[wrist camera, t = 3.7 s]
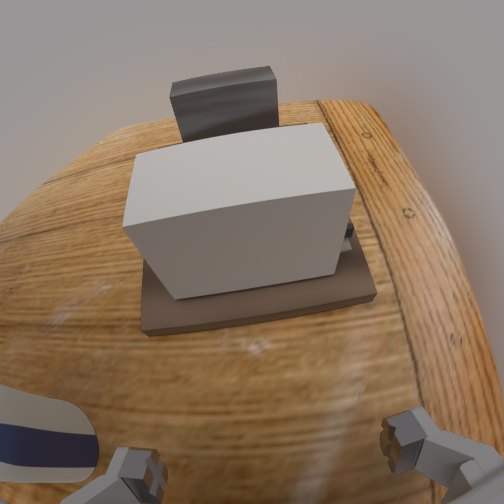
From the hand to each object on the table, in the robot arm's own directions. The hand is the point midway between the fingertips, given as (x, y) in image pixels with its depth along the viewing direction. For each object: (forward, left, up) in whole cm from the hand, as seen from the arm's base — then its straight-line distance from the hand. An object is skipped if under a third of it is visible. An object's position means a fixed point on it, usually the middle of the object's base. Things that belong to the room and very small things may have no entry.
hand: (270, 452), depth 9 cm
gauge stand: (-14, +14, -11) cm, 23 cm away
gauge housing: (-10, +12, -9) cm, 17 cm away
